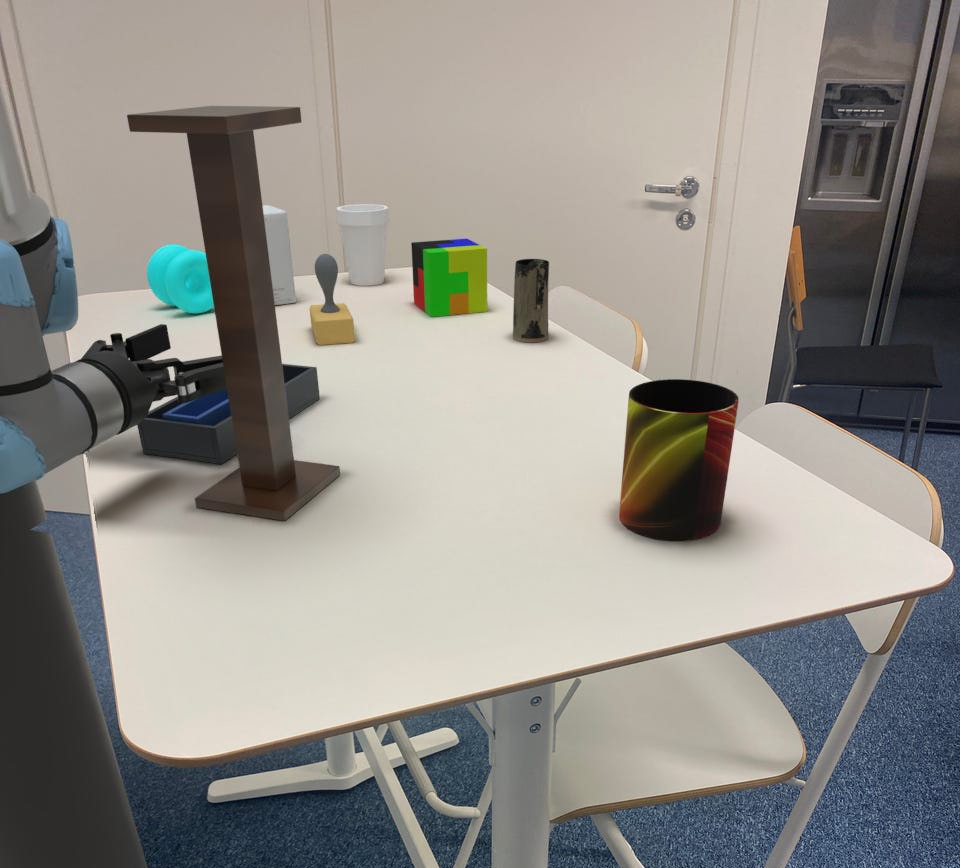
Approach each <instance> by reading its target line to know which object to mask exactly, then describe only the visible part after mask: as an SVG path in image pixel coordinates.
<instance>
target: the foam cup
mask: <svg viewBox="0 0 960 868" xmlns="http://www.w3.org/2000/svg"><path fill="white" fill-rule="evenodd" d="M335 211H336V221H337V224H338V226H339V227H338V228H339V232H340V238H341V242H342V247H343V252H344V256H345V261H346V266H347V271H348V276H349V280H350V284H352V285H353V286H354V285H355V286H359V287H360V286H362V287H367V286H368V287H371V286H378V285H381V284H383V283H384V282H385V274H386V273H385V271H386V258H387V257H386V255H387V239H388V237H387V236H388V223H389V221H390V220H389V206H387V205H384V204H377V203H375V204H374V203H359V204H358V203H357V204H345V205H341V206H337V207H336V210H335Z"/></svg>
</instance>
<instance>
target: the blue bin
mask: <svg viewBox="0 0 960 868" xmlns="http://www.w3.org/2000/svg"><path fill="white" fill-rule="evenodd" d="M230 416H231V411H230V404H229V398H228V392H227V390H225V391H221V392H217V393H214V394H210V395H206V396H202V397H199V398H197V399H195V400H193V401H191V402H188V403H183V404H181V405H179V406H177V407H175V408H174V409H172V410H170V411H168V412H166V413H164V414H163V420H169V421H177V422H185V423H193V424H201V425H209V426H215V425H217V424H218V423H220V422H222V421H223V420H225V419H227V418H228V417H230Z"/></svg>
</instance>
